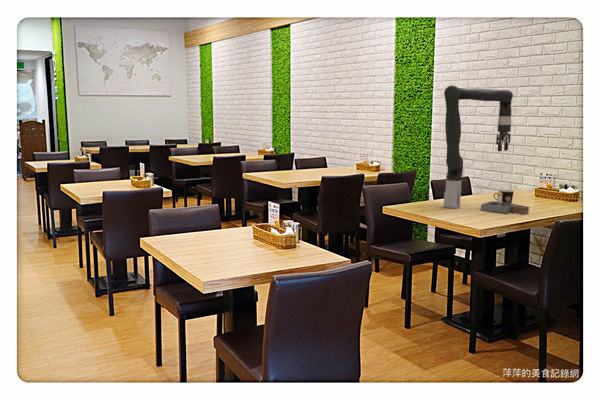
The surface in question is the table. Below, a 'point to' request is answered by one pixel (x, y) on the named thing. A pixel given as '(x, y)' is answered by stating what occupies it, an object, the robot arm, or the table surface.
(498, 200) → the stop pin
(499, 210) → the tray
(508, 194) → the coffee mug
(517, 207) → the pin block
